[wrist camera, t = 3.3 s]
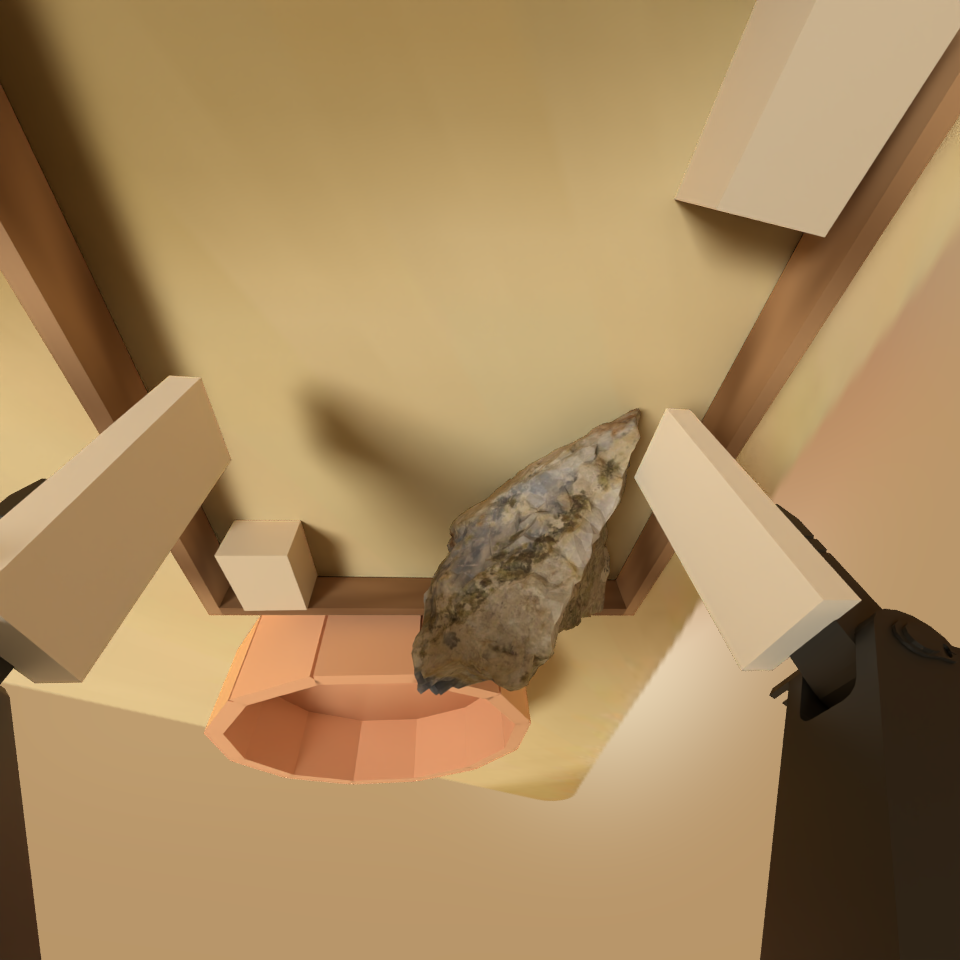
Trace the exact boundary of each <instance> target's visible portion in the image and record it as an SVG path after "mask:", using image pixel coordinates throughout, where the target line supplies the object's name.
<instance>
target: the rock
mask: <svg viewBox="0 0 960 960" xmlns="http://www.w3.org/2000/svg"><path fill="white" fill-rule="evenodd" d="M640 415H641V412H640V410H639V409H634V410H631V411H629V412H628V413H626V414H625V415H623V416H621V417H619V418H617V419H616V420H614V421H613V422H610V423H604V424H602V425H599V426H597V427H595V428H593V429H592V430H591V431H590V432H589V433H588V434H587V435H585V436H584V437H582V438H579V439H578V440H576V441H575V442H573V443H571V444H569V445H566V446H563V447H561V448H558V449H556V450H554V451H553V452H551V453H550V454H548V455H547V456H545V457H543V458H541V459H539V460H537V461H535V462H533V463H531V464H529V465H528V466H527V467H526V468H525V469H523V470H521V471H519V472H518V473H517V474H516V476H515V477H514V478H513V479H509V480H508V481H507V482H506V483H504V484H503V485H502V486H500V487H499V488H498V489H496V490H495V491H494V493H493V494H492V495H491V496H490V497H489V498H487V499H486V500H484V501H482V502H480V503H478V504H477V505H474V506H473V507H471V508H469V509H468V510H467V511H466V512H464V513H463V514H461V515H460V516H459V517H458V518H456V519H455V520H454V521H453V523H452V525H451V527H450V535H451V536H452V537H451V539H450V540H449V543H448V545H447V546H448V550H449V553H448V555H447V557H446V558H445V559H444V560H443V562H442V563H441V564H440V565H439V568H438V570H437V571H436V572H435V574H434V576H433V579H432V580H431V585H430V587H429V589H428V590H427V591H426V592H425V593H424V617H423V624H422V628H421V630H420V632H419V633H418V634H417V636H416V637H415V639H414V642H413V645H412V647H413V649H412V652H411V654H412V659H413V665H414V676H415V678H416V680H417V683H418V684H417V691H418V692H419V693H420V694H422V693H424V692H425V691H426V690H428V689H430V690H431V692H432V693H434V694H435V695H438V694H440V695H442V694H443V693H445V692H446V691H448V690H449V689H450V688H452V687H454V688H457V689H460V688H463V687H466V686H469V685H473V684H476V683H480V682H483V681H487V680H491V681H493V682H494V683H495V684H497V685H498V686H500V687H503V688H504V689H506V690H508V691H510V692H511V691H515V690H520V689H522V688H523V687H525V686H527V685H528V682H529V680H530V679H531V678H532V676H533V675H534V674H535V672H536V670H537V668H538V667H539V666H540V665H543V664H544V663H545V662H546V661H547V660H548V659H549V658H550V657H551V656H552V655H553V654H554V648H555V644H556V640H557V636H558V633H560V632H561V631H563V630H569V629H572V628H574V627H575V626H578V625H579V624H580V622H581V618H584V617H591V615H593V614H595V613H597V612H599V613H600V612H601V611H602V610H603V607H604V601H605V597H604V596H605V585H606V581H607V578H608V575H609V573H610V567H609V563H610V556H609V552H608V549H607V547H606V546H604V545H605V542H606V539H607V536H608V530H607V526H606V522H607V520H608V519H609V518H610V516H611V515H612V514H613V512H614V510H615V509H616V508H617V507H618V505H619V504H620V502H621V497H622V495H623V493H624V490H625V485H626V478H627V475H626V470H627V468H628V467H629V466H630V460H629V459H630V456H631V453H632V451H633V450H634V449H635V446H636V444H637V442H638V441H639V439H640V434H639V431H638V428H637V426H638V422H639V418H640Z"/></svg>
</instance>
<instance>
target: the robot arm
mask: <svg viewBox="0 0 960 960" xmlns="http://www.w3.org/2000/svg"><path fill="white" fill-rule="evenodd" d="M230 461H231V458H230V455H229V452H228V450H227V447H226V444H225V442H224V439H223V436H222V433H221V431H220V428H219V425H218V423H217V420H216V417H215V415H214V412H213V409H212V406H211V404H210V401H209V398H208V396H207V393H206V390H205V387H204V385H203V382H202V379H201V377H186V376H171V375H169V376H168V377H167V378H166V379H165V380H163V381H162V382H161V383H160V384H159V385H158V386H156V387H155V388H154V389H153V390H152V391H150V392H149V393H148V394H147V395H146V396H145V397H143V398H142V399H141V400H140V401H139V402H138V403H136V404H135V405H134V406H133V407H132V408H130V409H129V410H128V411H127V412H126V413H125V414H123V415H122V416H121V417H120V418H119V419H118V420H116V421H115V422H114V423H113V424H112V425H110V426H109V427H108V428H107V429H106V430H105V431H103V432H102V433H101V434H100V435H99V436H98V437H96V438H95V439H94V440H93V441H92V442H90V443H89V444H88V445H87V446H86V447H85V448H83V449H82V450H81V451H80V452H79V453H78V454H76V455H75V456H74V457H73V458H72V459H70V460H69V461H68V462H67V463H66V464H65V465H63V466H62V467H61V468H60V469H59V470H58V471H56V472H55V473H54V474H53V475H52V476H50V477H49V478H48V479H40V480H38V481H36V482H34V483H32V484H31V485H29V486H27V487H25V488H23V489H21V490H19V491H17V492H15V493H13V494H11V495H9V496H8V497H7V498H6V499H4V500H3V501H2V502H1V503H0V684H1V683H2V682H3V680H4V679H5V678H6V677H7V675H8V674H9V673H10V672H11V671H12V669H13V668H14V669H16V670H17V671H18V672H20V673H21V674H23V675H24V676H25V677H27V678H28V679H30V680H31V681H32V682H34V683H77V682H83V680H84V679H85V677H86V676H87V674H88V673H89V671H90V670H91V668H92V667H93V665H94V664H95V662H96V661H97V659H98V658H99V656H100V655H101V653H102V652H103V650H104V649H105V647H106V646H107V644H108V643H109V641H110V640H111V638H112V637H113V636H114V634H115V633H116V631H117V630H118V628H119V627H120V625H121V624H122V622H123V621H124V619H125V618H126V616H127V615H128V613H129V612H130V610H131V609H132V607H133V606H134V604H135V603H136V601H137V600H138V598H139V597H140V595H141V594H142V592H143V591H144V589H145V588H146V586H147V585H148V583H149V582H150V580H151V579H152V577H153V576H154V575H155V573H156V572H157V570H158V569H159V567H160V566H161V564H162V563H163V561H164V560H165V558H166V557H167V555H168V554H169V552H170V551H171V549H172V548H173V546H174V545H175V543H176V542H177V540H178V539H179V537H180V536H181V534H182V533H183V531H184V530H185V528H186V527H187V525H188V524H189V522H190V521H191V519H192V518H193V516H194V515H195V513H196V512H197V511H198V509H199V508H200V506H201V505H202V503H203V502H204V500H205V499H206V497H207V496H208V494H209V493H210V491H211V490H212V488H213V487H214V485H215V484H216V482H217V481H218V479H219V478H220V476H221V475H222V473H223V472H224V470H225V469H226V467H227V466H228V464H229V463H230ZM634 478H635V480H636V482H637V484H638V486H639V487H640V489H641V491H642V493H643V495H644V496H645V498H646V500H647V502H648V504H649V505H650V507H651V509H652V511H653V513H654V514H655V516H656V518H657V520H658V522H659V524H660V525H661V527H662V529H663V531H664V533H665V534H666V536H667V538H668V540H669V542H670V543H671V545H672V547H673V549H674V551H675V552H676V554H677V556H678V558H679V560H680V561H681V563H682V565H683V567H684V569H685V570H686V572H687V574H688V576H689V578H690V579H691V581H692V583H693V585H694V587H695V588H696V590H697V592H698V594H699V596H700V597H701V599H702V601H703V603H704V605H705V606H706V608H707V610H708V612H709V614H710V616H711V617H712V619H713V621H714V623H715V624H716V626H717V628H718V630H719V631H720V634H721V635H722V637H723V639H724V641H725V643H726V644H727V646H728V648H729V650H730V652H731V653H732V655H733V657H734V659H735V661H736V662H737V664H738V666H739V668H740V670H741V671H762V670H763V671H767V670H774V669H775V668H776V667H778V666H779V665H780V664H781V663H782V662H784V661H785V660H786V659H788V658H789V657H791V659H792V660H793V662H794V663H795V665H796V666H797V668H798V670H797V671H796V672H794V673H793V674H792V675H790V676H789V677H788V678H786V679H785V680H784V681H782V682H781V683H779V684H778V685H777V686H775V687H774V688H773V689H772V691H771V693H770V696H771V697H773V698H774V699H775V698H776V697H778V696H779V695H781V694H782V693H784V692H785V691H786V690H788V691H789V692H788V699H787V700H785V701H784V702H783V704H784V705H786V706H787V710H786V720H785V729H784V738H783V748H782V757H781V767H780V777H779V786H778V795H777V805H776V814H775V824H774V833H773V843H772V853H771V862H770V871H769V881H768V890H767V901H766V909H765V919H764V929H763V938H762V947H761V957H760V960H960V648H957V647H953V646H951V645H950V643H949V642H948V641H947V640H946V639H945V638H944V637H943V636H941V635H940V634H939V633H938V632H936V631H935V630H934V629H933V628H932V627H930V626H928V625H927V624H926V623H923V622H922V621H920V620H919V619H917V618H915V617H913V616H911V615H908V614H906V613H903V612H900V611H897V610H890V609H881V607H879V606H878V604H877V603H876V602H875V601H874V600H873V599H872V598H871V597H870V596H869V595H868V594H867V593H866V592H865V590H864V589H863V588H862V587H861V586H860V585H859V584H858V583H857V582H856V581H855V580H854V579H853V578H852V576H851V575H850V574H849V573H848V572H847V571H846V570H845V569H844V568H843V567H842V566H841V565H840V563H839V562H838V561H837V560H836V559H835V558H834V557H833V556H832V555H831V554H830V553H826V550H827V549H826V548H825V547H824V546H823V545H822V544H821V543H820V542H819V541H818V540H817V539H814V538H813V537H814V535H812V533H811V532H810V531H809V530H808V529H807V528H806V527H805V526H804V525H803V524H802V522H800V520H799V519H797V518H796V517H795V516H793V515H792V514H790V513H789V512H788V511H786V510H785V509H783V508H782V507H781V506H779V505H778V504H774V503H773V501H772V500H771V499H770V498H769V497H768V496H767V495H766V494H765V493H764V491H763V490H762V489H761V488H760V487H759V486H758V485H757V484H756V483H755V481H754V480H753V479H752V478H751V477H750V476H749V475H748V474H747V473H746V471H745V470H744V469H743V468H742V467H741V466H740V465H739V464H738V463H737V461H736V460H735V459H734V458H733V457H732V456H731V455H730V454H729V453H728V451H727V450H726V449H725V448H724V447H723V446H722V445H721V444H720V443H719V441H718V440H717V439H716V438H715V437H714V436H713V435H712V434H711V433H710V431H709V430H708V429H707V428H706V427H705V426H704V425H703V424H702V423H701V421H700V420H699V419H698V418H697V417H696V416H695V415H694V414H693V413H692V411H691V410H688V409H673V408H666V410H665V412H664V414H663V416H662V418H661V421H660V423H659V425H658V427H657V429H656V431H655V433H654V436H653V438H652V440H651V442H650V444H649V446H648V449H647V451H646V453H645V455H644V457H643V459H642V462H641V464H640V466H639V468H638V470H637V472H636V474H635V477H634ZM0 960H41V954H40V946H39V938H38V929H37V921H36V913H35V905H34V896H33V888H32V879H31V871H30V864H29V855H28V846H27V838H26V830H25V821H24V813H23V805H22V796H21V788H20V780H19V772H18V763H17V755H16V747H15V739H14V731H13V722H12V713H11V705H10V697H9V695H8V694H7V692H6V690H5V689H4V688H3V687H2V686H0Z"/></svg>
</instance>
